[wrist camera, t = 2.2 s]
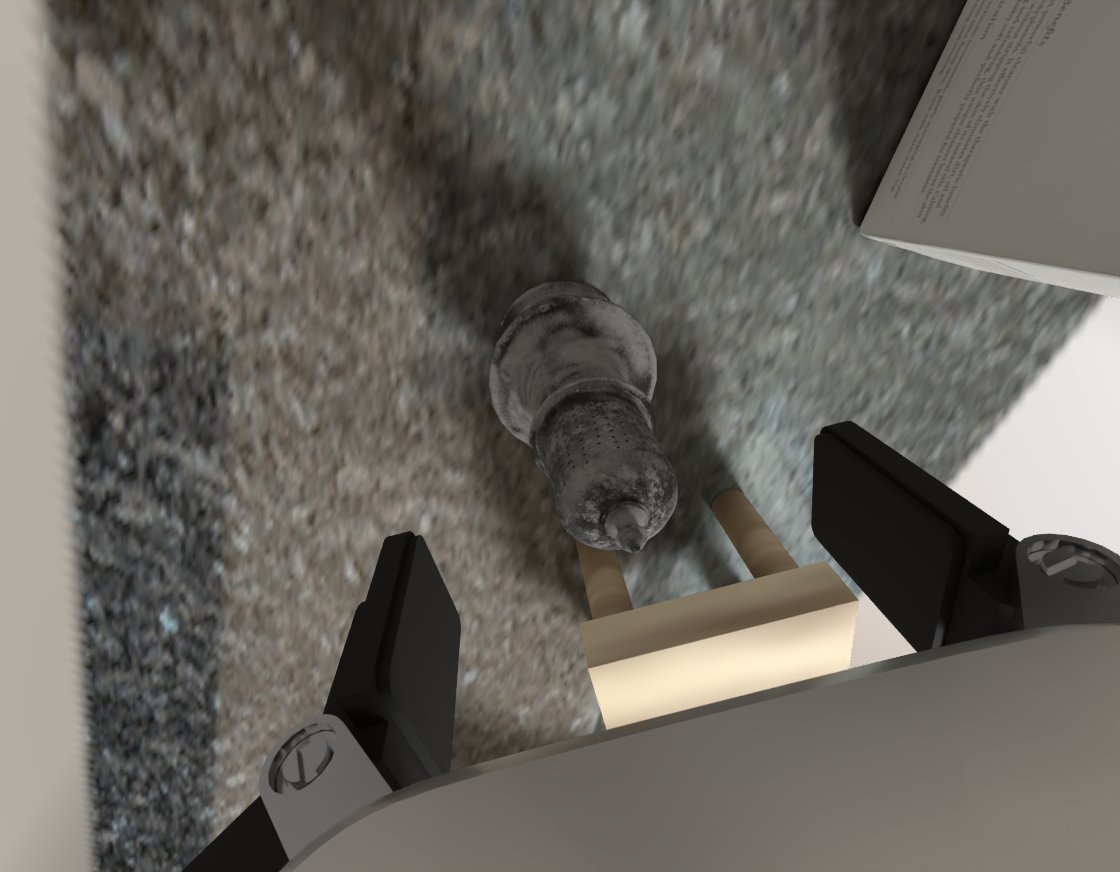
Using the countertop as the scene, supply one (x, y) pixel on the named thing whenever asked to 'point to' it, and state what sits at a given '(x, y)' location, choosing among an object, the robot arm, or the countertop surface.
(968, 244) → the skincare box
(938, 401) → the countertop surface
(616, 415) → the salt shaker
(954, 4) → the countertop surface
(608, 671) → the stool
